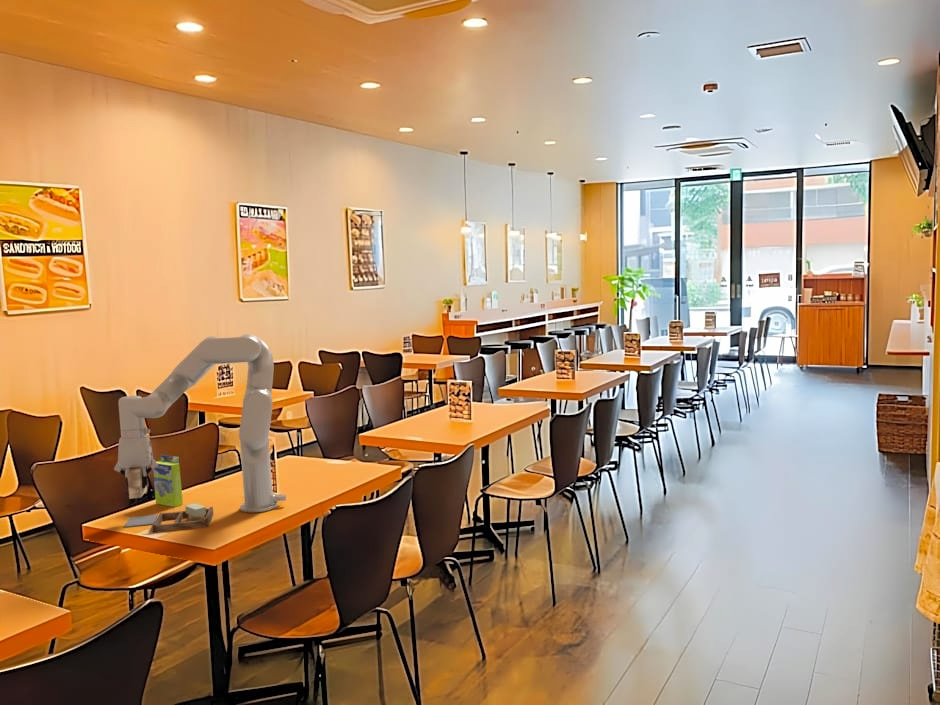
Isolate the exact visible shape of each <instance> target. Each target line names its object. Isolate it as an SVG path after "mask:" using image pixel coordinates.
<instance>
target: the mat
mask: <svg viewBox="0 0 940 705" xmlns="http://www.w3.org/2000/svg"><path fill="white" fill-rule="evenodd" d="M158 516H159V514H150V515H141V516H131V517H129V518H128V520H127V521H126V523H125V524H124V525H123V528H132V527H143V526H150V525H151V526H153V524H154V523H155V521H156V519H157V518H158Z"/></svg>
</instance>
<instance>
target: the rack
mask: <svg viewBox="0 0 940 705" xmlns="http://www.w3.org/2000/svg"><path fill="white" fill-rule="evenodd" d="M213 516H214V507H213V506H209V508H206V515H204V520H198V521H189V520H188V521H183V519H184V518H189V514H186V510H179V511H171V512H170V511H169V512H160V513H159V514H158V517H157V519H156V520H155V522H154V524H153V525H151V526H152V533H158V532H159V531H160V532H167V531H176V530H177V531H178V530H187V529H195V528H206V527H208V528H209V526H210V524H211V522H212V519H213ZM174 519H175V520H174ZM165 520H174V522H171V523H162V522H163V521H165Z"/></svg>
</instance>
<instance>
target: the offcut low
mask: <svg viewBox="0 0 940 705" xmlns="http://www.w3.org/2000/svg"><path fill="white" fill-rule="evenodd" d="M198 520H205V516H204V515H202V516H199V517H195V516H192V515H189V517H188V522H189V521H198Z"/></svg>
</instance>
